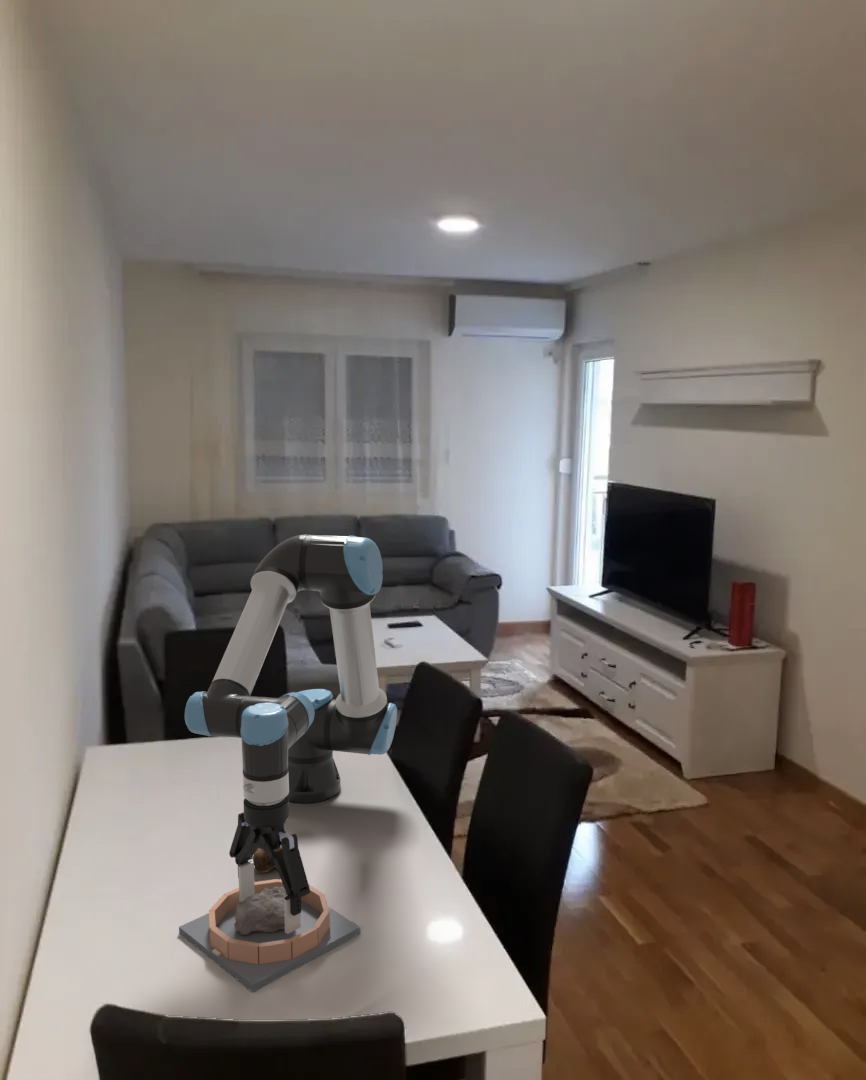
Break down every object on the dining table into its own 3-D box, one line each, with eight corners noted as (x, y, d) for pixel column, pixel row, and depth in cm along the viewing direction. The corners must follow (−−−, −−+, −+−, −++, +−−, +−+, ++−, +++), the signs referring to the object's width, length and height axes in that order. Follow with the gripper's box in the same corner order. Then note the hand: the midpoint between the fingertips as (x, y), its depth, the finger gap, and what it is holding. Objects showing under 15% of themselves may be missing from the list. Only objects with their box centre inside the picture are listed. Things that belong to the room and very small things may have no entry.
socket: (283, 884, 172) (283, 864, 171) (360, 933, 157) (360, 910, 156) (179, 933, 156) (178, 910, 156) (252, 992, 141) (252, 967, 140)
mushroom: (304, 846, 180) (284, 825, 178) (287, 879, 173) (266, 857, 171) (278, 855, 184) (258, 834, 182) (260, 887, 177) (239, 866, 176)
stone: (249, 949, 150) (248, 916, 149) (228, 926, 156) (227, 894, 155) (302, 928, 156) (301, 896, 155) (280, 907, 162) (279, 876, 161)
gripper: (206, 781, 158) (210, 894, 162) (292, 828, 141) (295, 954, 145) (243, 768, 164) (246, 878, 167) (330, 813, 146) (332, 934, 150)
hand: (269, 914), depth 156 cm, fingers open, 13 cm apart
